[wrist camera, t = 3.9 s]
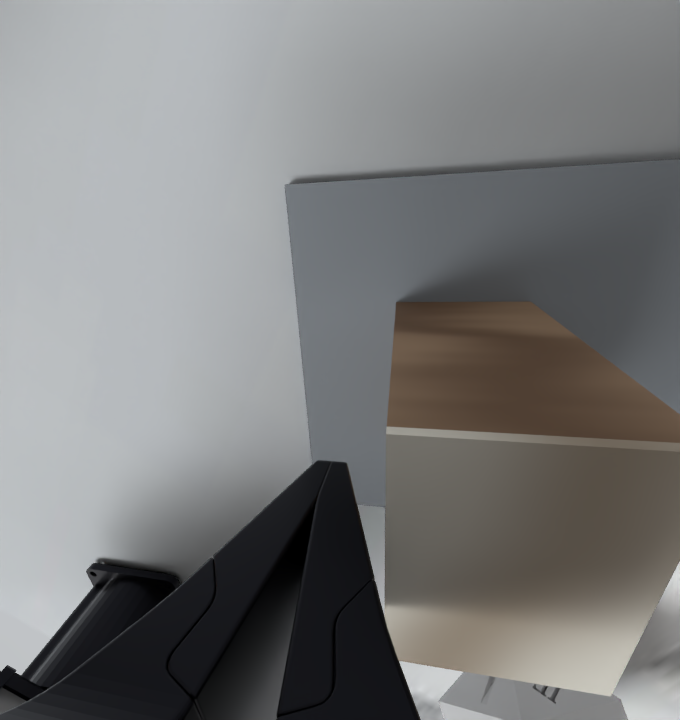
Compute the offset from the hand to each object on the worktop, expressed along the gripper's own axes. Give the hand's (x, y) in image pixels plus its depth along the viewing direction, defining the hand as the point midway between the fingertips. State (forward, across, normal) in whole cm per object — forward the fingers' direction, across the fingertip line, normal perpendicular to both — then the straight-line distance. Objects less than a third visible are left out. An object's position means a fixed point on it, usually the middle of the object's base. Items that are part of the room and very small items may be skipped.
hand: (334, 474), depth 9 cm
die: (+6, -8, +18) cm, 21 cm away
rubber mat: (+6, -6, 0) cm, 9 cm away
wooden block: (+6, -4, 0) cm, 7 cm away
